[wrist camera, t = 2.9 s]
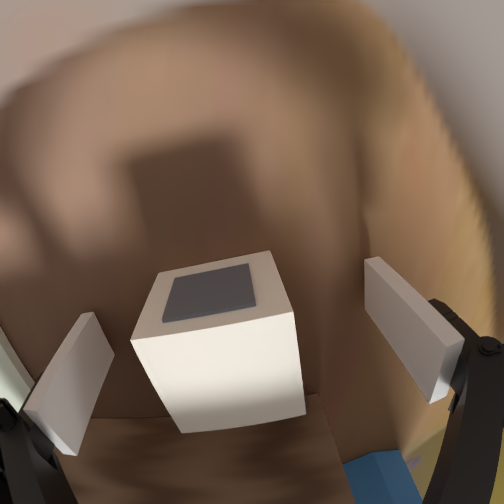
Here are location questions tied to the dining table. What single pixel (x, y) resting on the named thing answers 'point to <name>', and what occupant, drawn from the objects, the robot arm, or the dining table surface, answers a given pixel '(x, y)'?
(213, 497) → the walnut screen
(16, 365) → the coaster
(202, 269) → the white cube
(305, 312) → the dining table surface
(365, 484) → the water bottle
